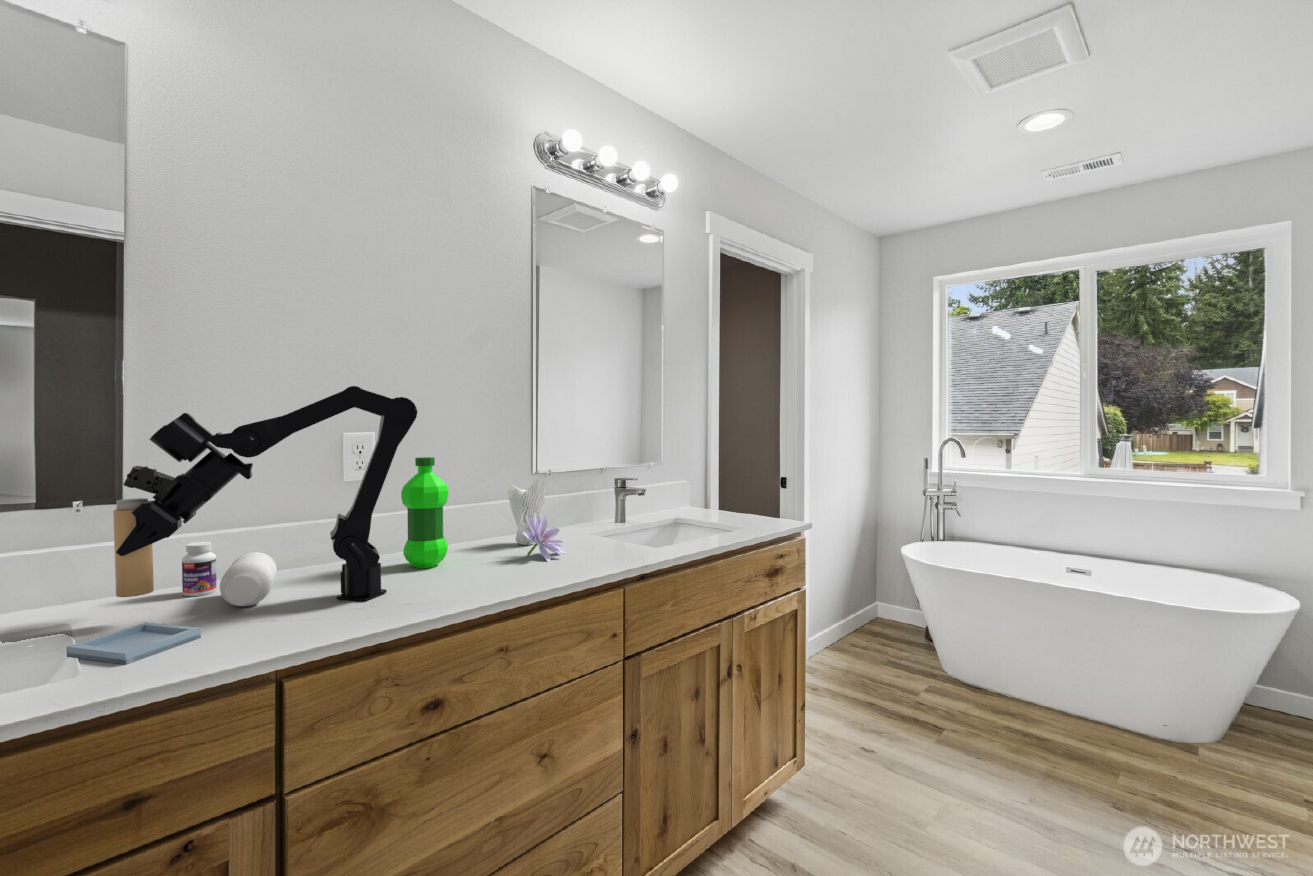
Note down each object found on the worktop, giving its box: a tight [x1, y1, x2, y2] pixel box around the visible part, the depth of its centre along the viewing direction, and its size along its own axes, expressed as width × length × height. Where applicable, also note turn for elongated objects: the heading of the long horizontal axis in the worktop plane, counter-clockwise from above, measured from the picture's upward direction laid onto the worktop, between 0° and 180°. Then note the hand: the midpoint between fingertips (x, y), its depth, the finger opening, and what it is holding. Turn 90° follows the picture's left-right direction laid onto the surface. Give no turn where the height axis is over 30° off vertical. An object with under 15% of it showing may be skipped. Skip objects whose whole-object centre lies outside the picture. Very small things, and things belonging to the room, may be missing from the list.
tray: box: [66, 621, 202, 665], centre depth 93 cm, size 11×11×2 cm
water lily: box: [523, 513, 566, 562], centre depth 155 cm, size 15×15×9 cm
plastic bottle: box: [400, 456, 450, 569], centre depth 145 cm, size 10×10×25 cm
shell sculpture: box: [507, 477, 547, 546], centre depth 169 cm, size 8×8×18 cm
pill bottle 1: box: [181, 541, 217, 597], centre depth 122 cm, size 5×5×10 cm
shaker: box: [113, 497, 155, 598], centre depth 103 cm, size 5×5×16 cm
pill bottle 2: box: [219, 551, 278, 608], centre depth 116 cm, size 8×8×15 cm
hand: (123, 551), depth 103 cm, fingers closed on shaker, 5 cm apart
